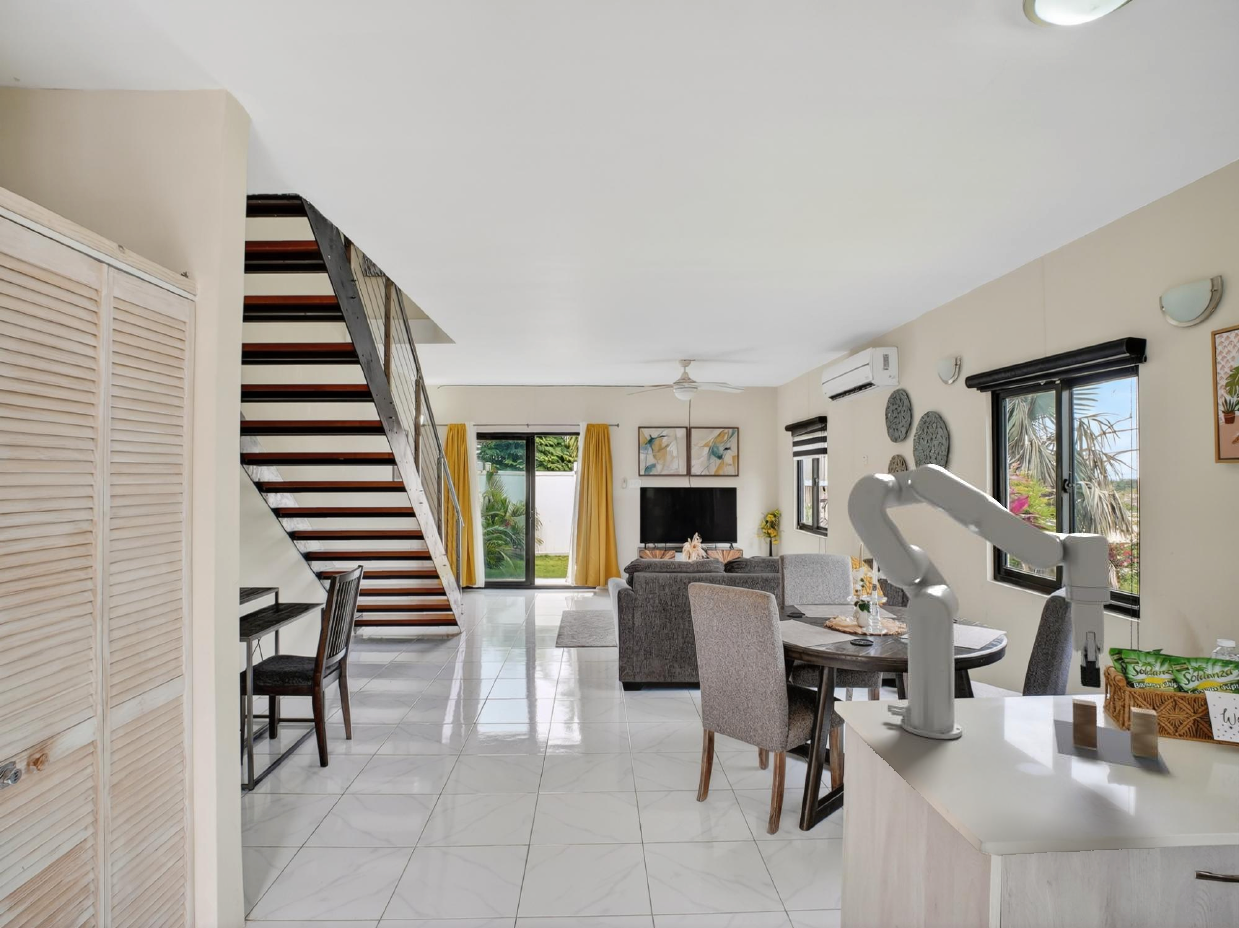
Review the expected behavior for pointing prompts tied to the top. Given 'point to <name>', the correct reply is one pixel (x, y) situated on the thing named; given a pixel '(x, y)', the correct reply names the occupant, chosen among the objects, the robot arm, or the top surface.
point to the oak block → (1144, 733)
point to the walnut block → (1085, 724)
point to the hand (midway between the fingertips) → (1090, 685)
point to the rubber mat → (1105, 747)
